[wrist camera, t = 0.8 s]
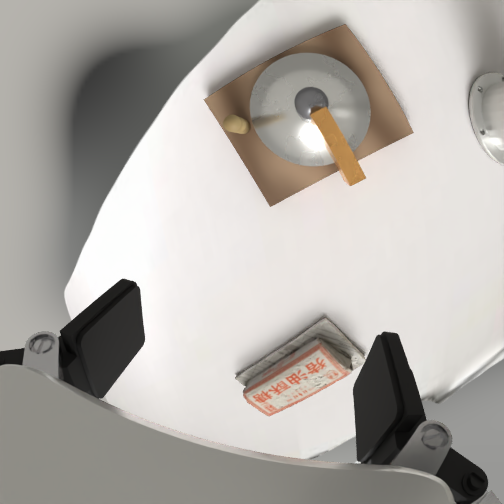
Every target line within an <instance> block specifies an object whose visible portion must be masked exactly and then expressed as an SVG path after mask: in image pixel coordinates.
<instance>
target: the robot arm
mask: <svg viewBox="0 0 504 504" xmlns="http://www.w3.org/2000/svg"><path fill="white" fill-rule="evenodd" d="M469 110H470V118H471V122H472V126H473V129H474V132H475V135H476V137H477V139H478V141H479V143H480V145H481V146H482V148H483V149H484V151H485V152H486V153H487V154H488V155H489V157H490V158H492V159H493V160H494V161H495V162H497V163H499V164H501V165H504V75H503V74H500V73H496V72H491V73H486V74H484V75H481V76H480V77H479V78H477V79H476V81H475V82H474V84H473V86H472V89H471V92H470V98H469ZM60 333H61V336H59V337H57V336H56V335H55V334H54V333H52V332H38V333H36V334H34V335H32V336H31V337H30V338H29V339H28V340H27V342H26V345H25V348H22V349H15V350H7V351H0V504H502V503H501V502H500V501H499V499H498V498H497V497H496V496H495V494H494V493H493V492H492V490H491V491H490V492H488V491H487V490H486V489H487V487H488V479H487V476H486V474H485V472H484V471H483V470H482V469H480V468H479V467H478V466H476V465H475V464H473V463H472V462H471V461H469V460H468V459H466V458H465V457H463V456H462V455H461V454H459V453H458V452H456V451H455V450H453V449H452V448H451V444H452V435H451V433H450V430H449V429H448V428H447V427H446V426H445V425H444V424H443V423H441V422H439V421H435V420H428V421H427V420H426V416H425V413H424V409H423V405H422V402H421V398H420V395H419V391H418V388H417V385H416V382H415V378H414V375H413V372H412V370H411V369H410V367H409V364H408V361H407V358H406V355H405V352H404V349H403V347H402V344H401V341H400V338H399V335H398V334H397V333H391V332H383V333H382V334H381V335H377V336H376V338H375V341H374V343H373V345H372V348H371V350H370V352H369V354H368V357H367V359H366V361H365V363H364V365H363V367H362V369H361V371H360V374H359V376H358V378H357V380H356V382H355V384H354V387H353V397H354V410H355V426H356V444H357V445H356V446H357V461H358V462H361V464H354V463H337V462H325V461H315V460H306V459H298V458H290V457H284V456H277V455H271V454H266V453H260V452H255V451H250V450H246V449H241V448H237V447H232V446H228V445H224V444H220V443H216V442H213V441H209V440H205V439H202V438H198V437H195V436H192V435H188V434H185V433H182V432H179V431H176V430H173V429H170V428H167V427H164V426H162V425H159V424H156V423H154V422H151V421H148V420H146V419H143V418H141V417H138V416H136V415H133V414H131V413H128V412H126V411H124V410H121V409H119V408H117V407H115V406H112V405H110V404H108V403H106V402H104V401H102V400H100V399H99V398H103V397H104V396H105V395H106V393H107V392H108V391H109V389H110V388H111V387H112V385H113V384H114V383H115V381H116V380H117V379H118V377H119V376H120V375H121V374H122V372H123V371H124V370H125V368H126V367H127V366H128V364H129V363H130V362H131V361H132V359H133V358H134V357H135V355H136V354H137V353H138V351H139V350H140V349H141V348H142V346H143V345H144V342H145V334H144V326H143V316H142V306H141V295H140V288H139V287H138V286H137V284H136V282H134V281H130V280H127V279H121V280H120V281H119V282H117V283H116V284H115V285H114V286H112V287H111V288H110V289H109V290H107V291H106V292H105V293H104V294H103V295H101V296H100V297H99V298H98V299H97V300H95V301H94V302H93V303H92V304H91V305H89V306H88V307H87V308H86V309H85V310H83V311H82V312H81V313H80V314H79V315H78V316H76V317H75V318H74V319H73V320H72V321H71V322H70V323H68V324H67V325H66V326H65V327H64V328H63V329H62V330H60Z"/></svg>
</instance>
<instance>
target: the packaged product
mask: <svg viewBox="0 0 504 504" xmlns="http://www.w3.org/2000/svg"><path fill="white" fill-rule="evenodd" d="M365 361H366V359H365V357H364V356H363V354H362V353H361V352H360V351H359V350H358V349H357V348H356V347H355V346H354V345H353V344H352V343H351V342H350V341H349V340H348V339H347V338H346V337H345V335H344V334H343V333H342V332H341V331H340V330H339V329H338V328H337V327H336V326H335V325H334V324H333V323H331V322H330V321H329V320H328V319H327V318H323V319H322V320H320V321H319V322H317V323H316V324H314V325H313V326H312V327H310V328H309V329H308V330H306V331H305V332H304V333H302V334H301V335H300V336H298V337H297V338H295V339H294V340H292V341H291V342H289V343H288V344H286V345H284V346H283V347H281V348H280V349H278V350H277V351H275V352H273V353H271V354H270V355H268V356H267V357H265V358H264V359H263V360H261V361H260V362H259V363H257V364H255V365H254V366H252V367H250V368H249V369H247V370H245V371H244V372H242V373H241V374H240V375H238V376H236V377H235V379H236V380H238V381H239V382H240V383H241V384H243V385H244V386H246V388H244V390H243V393H244V394H243V396H244V398H245V399H246V400H247V403H249V404H251V405H252V406H253V407H255V408H257V409H258V410H259V411H260V412H262V413H263V414H265V415H266V416H271V415H273V414H275V413H278V412H280V411H283V410H284V409H286V408H288V407H291V406H293V405H294V404H297V403H298V402H300V401H303V400H304V399H306V398H308V397H310V396H312V395H314V394H316V393H318V392H319V391H321V390H323V389H325V388H327V387H328V386H330V385H332V384H334V383H335V382H336V381H339V380H341V379H343V378H344V377H346V376H347V375H349V374H351V372H352V371H353V370H354V369H356V368H357V367H359V366H360V365H362V364H364V363H365Z"/></svg>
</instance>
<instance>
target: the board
mask: <svg viewBox="0 0 504 504" xmlns="http://www.w3.org/2000/svg"><path fill="white" fill-rule="evenodd" d="M298 53H317V54H322V55H326V56H329V57H332V58H334V59H336V60H338V61H340V62H341V63H343V64H344V65H346V66H347V67H348V68H349V69H351V70H352V71H353V72H354V73H355V74H356V75H357V77H358V78H359V79H360V81H361V82H362V84H363V86H364V88H365V89H366V92H367V95H368V98H369V102H370V109H371V115H370V123H369V127H368V130H367V133H366V135H365V137H364V139H363V141H362V142H361V144H360V145H359V146H358V147H357V148H356V149H355V150H354V151H353V154H354V156H355V158H356V159H357V161H358V160H360V159H362V158H364V157H366V156H368V155H370V154H372V153H374V152H376V151H378V150H380V149H382V148H384V147H386V146H388V145H390V144H392V143H394V142H396V141H398V140H400V139H402V138H404V137H406V136H408V135H410V134H412V133H414V132H413V130H412V128H411V126H410V124H409V122H408V120H407V119H406V117H405V115H404V113H403V111H402V109H401V107H400V105H399V104H398V102H397V100H396V98H395V97H394V95H393V93H392V91H391V90H390V88H389V86H388V85H387V83H386V81H385V80H384V78H383V77H382V75H381V73H380V72H379V70H378V69H377V67H376V66H375V64H374V63H373V61H372V60H371V58H370V57H369V55H368V54H367V52H366V51H365V50H364V48H363V47H362V45H361V44H360V43H359V41H358V40H357V39H356V37H355V36H354V35H353V33H352V32H351V31H350V29H349V28H348V27H347V25H346V24H344V25H342V26H339V27H337V28H334V29H332V30H330V31H327V32H325V33H323V34H320V35H318V36H316V37H314V38H311V39H309V40H307V41H305V42H303V43H301V44H299V45H297V46H295V47H293V48H291V49H289V50H287V51H285V52H283V53H281V54H279V55H277V56H275V57H273V58H271V59H269V60H268V61H266V62H264V63H262V64H260V65H259V66H257V67H255V68H253V69H252V70H250V71H248V72H247V73H245V74H243V75H242V76H240V77H238V78H237V79H235V80H233V81H232V82H230V83H229V84H227V85H225V86H224V87H222V88H221V89H219V90H218V91H216V92H215V93H213V94H212V95H210V96H209V97H207V98H206V99H204V101H205V102H206V104H207V105H208V107H209V108H210V110H211V112H212V113H213V115H214V116H215V118H216V119H217V121H218V122H219V124H220V126H221V127H222V129H223V130H224V132H225V134H226V135H227V137H228V138H229V140H230V141H231V143H232V145H233V146H234V148H235V149H236V151H237V153H238V154H239V156H240V158H241V159H242V161H243V162H244V164H245V166H246V167H247V169H248V171H249V172H250V174H251V176H252V177H253V179H254V181H255V182H256V184H257V186H258V187H259V189H260V191H261V192H262V194H263V196H264V197H265V199H266V201H267V202H268V204H269V206H270V207H271V206H273V205H275V204H277V203H279V202H281V201H282V200H284V199H286V198H288V197H290V196H292V195H293V194H295V193H297V192H299V191H301V190H303V189H305V188H306V187H308V186H310V185H312V184H314V183H316V182H318V181H320V180H322V179H323V178H325V177H327V176H329V175H331V174H333V173H335V172H337V171H339V170H338V168H337V167H336V165H335V163H332V164H329V165H323V166H303V165H299V164H295V163H292V162H289V161H287V160H285V159H283V158H281V157H279V156H278V155H276V154H275V153H273V152H272V151H271V150H270V149H269V148H268V147H267V146H266V145H265V144H264V143H263V142H262V140H261V139H260V138H259V136H258V134H257V133H256V131H255V129H254V126H253V123H252V119H251V115H250V98H251V93H252V90H253V87H254V85H255V83H256V81H257V79H258V78H259V76H260V75H261V74H262V72H263V71H264V70H265V69H266V68H267V67H269V66H270V65H271V64H272V63H274V62H275V61H277V60H279V59H281V58H283V57H286V56H289V55H292V54H298Z"/></svg>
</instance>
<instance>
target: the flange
mask: <svg viewBox="0 0 504 504" xmlns="http://www.w3.org/2000/svg"><path fill="white" fill-rule="evenodd" d="M250 115H251V119H252V123H253V126H254V129H255V131H256V133H257V134H258V136H259V138H260V139H261V140H262V142H263V143H264V144H265V145H266V146H267V147H268V148H269V149H270V150H271V151H272V152H273V153H275V154H276V155H278V156H279V157H281V158H283V159H285V160H287V161H289V162H292V163H295V164H299V165H303V166H323V165H329V164H332V163H335V165H336V167H337V168H338V170H339V172H340V174H341V176H342V178H343V180H344V181H345V182H346V183H347V184H348V185H349V186H352V185H354V184H356V183H358V182H360V181H362V180H364V179H366V177H365V175H364V173H363V171H362V169H361V167H360V165H359V163H358V161H357V159H356V158H355V156H354V154H353V151H354V150H355V149H356V148H357V147H358V146H359V145H360V144H361V142H362V141H363V139H364V137H365V135H366V133H367V130H368V127H369V123H370V115H371V109H370V102H369V98H368V95H367V92H366V89H365V88H364V86H363V84H362V82H361V81H360V79H359V78H358V77H357V75H356V74H355V73H354V72H353V71H352V70H351V69H349V68H348V67H347V66H346V65H344V64H343V63H341V62H340V61H338V60H336V59H334V58H332V57H329V56H326V55H322V54H317V53H298V54H292V55H289V56H286V57H283V58H281V59H279V60H277V61H275V62H274V63H272V64H271V65H270V66H269V67H267V68H266V69H265V70H264V71H263V72H262V74H261V75H260V76H259V78H258V79H257V81H256V83H255V85H254V87H253V90H252V93H251V98H250Z"/></svg>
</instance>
